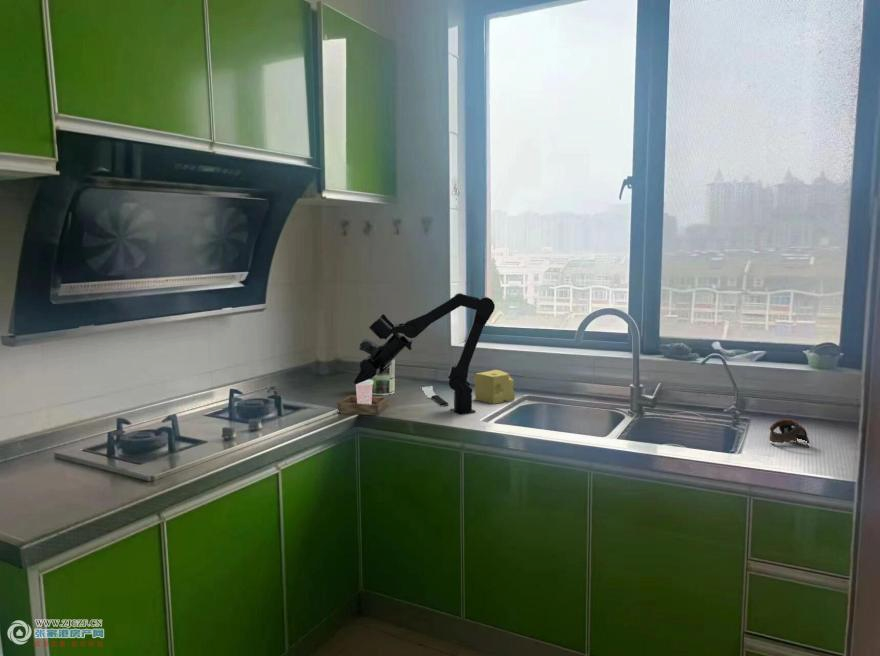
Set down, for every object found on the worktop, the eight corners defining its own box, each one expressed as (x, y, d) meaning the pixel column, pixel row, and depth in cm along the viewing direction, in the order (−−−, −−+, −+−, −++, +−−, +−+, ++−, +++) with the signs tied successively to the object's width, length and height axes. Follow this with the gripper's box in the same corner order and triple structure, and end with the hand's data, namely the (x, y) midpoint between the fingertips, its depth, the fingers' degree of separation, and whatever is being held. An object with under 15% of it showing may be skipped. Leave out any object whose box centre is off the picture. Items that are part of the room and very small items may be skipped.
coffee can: (378, 396, 235) (378, 358, 233) (362, 392, 242) (362, 355, 241) (400, 393, 241) (400, 356, 240) (384, 388, 249) (384, 352, 248)
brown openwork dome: (817, 453, 171) (807, 428, 169) (781, 465, 174) (770, 440, 172) (802, 430, 182) (792, 406, 180) (768, 441, 185) (758, 418, 183)
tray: (388, 406, 219) (388, 397, 219) (378, 415, 207) (378, 405, 207) (349, 404, 222) (349, 395, 222) (337, 412, 210) (337, 403, 210)
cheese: (514, 400, 230) (515, 373, 228) (492, 404, 223) (492, 376, 222) (495, 395, 238) (495, 369, 237) (473, 399, 231) (473, 372, 230)
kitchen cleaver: (406, 388, 248) (431, 383, 251) (407, 392, 249) (431, 388, 251) (424, 406, 218) (452, 401, 221) (424, 411, 219) (452, 406, 221)
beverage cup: (364, 404, 219) (364, 364, 217) (377, 407, 215) (376, 366, 213) (351, 407, 214) (350, 366, 213) (363, 410, 210) (363, 368, 209)
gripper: (382, 328, 220) (352, 359, 223) (365, 334, 202) (332, 368, 205) (404, 351, 219) (374, 382, 223) (389, 360, 201) (356, 393, 205)
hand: (359, 380), depth 214 cm, fingers open, 9 cm apart
